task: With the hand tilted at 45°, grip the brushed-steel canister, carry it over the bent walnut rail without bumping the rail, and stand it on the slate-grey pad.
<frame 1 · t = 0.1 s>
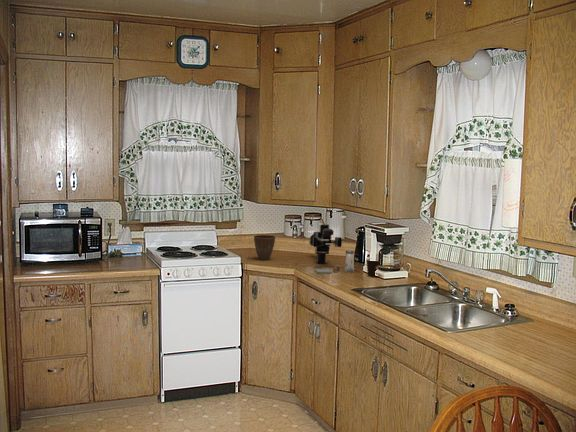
hand: (329, 244, 378), 17 cm above the counter, tool horizontal, fingers open, 9 cm apart
plant pot: (264, 259, 413), on the counter
slate pad: (323, 272, 372), on the counter
steel canister: (349, 271, 376), on the counter
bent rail: (336, 271, 376), on the counter
coffee mug: (375, 276, 364), on the counter
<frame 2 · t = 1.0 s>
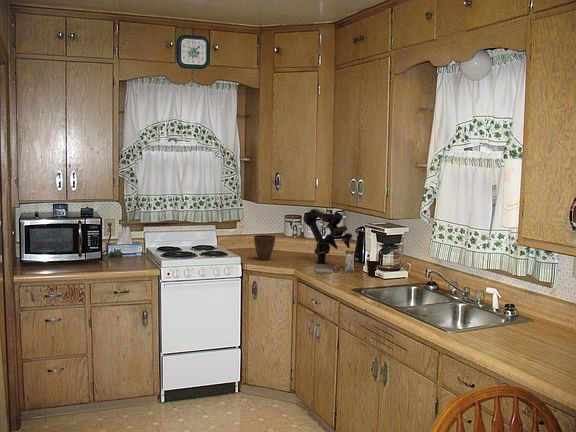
hand: (343, 248, 381), 14 cm above the counter, tool tilted 45°, fingers open, 9 cm apart
nothing on the counter moved.
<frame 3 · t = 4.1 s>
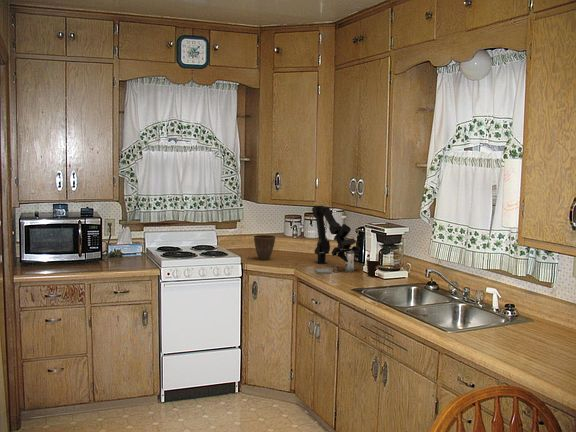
hand: (350, 261, 374), 7 cm above the counter, tool tilted 45°, fingers closed on steel canister, 5 cm apart
steel canister: (349, 271, 376), on the counter, touching gripper
everything else where it was.
when the fingers open (9 cm above the counter, at t = 9.0 s): steel canister drops 1 cm, resting on slate pad.
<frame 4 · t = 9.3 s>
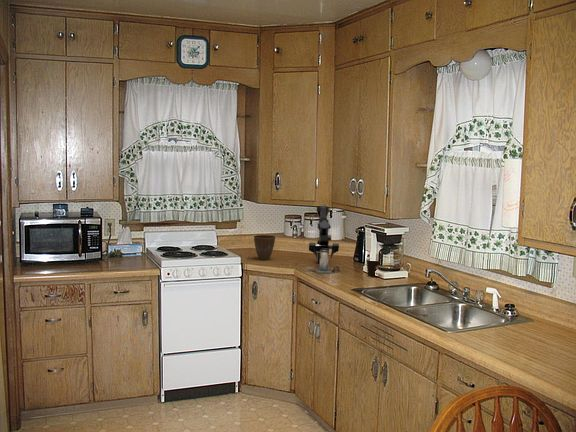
hand: (323, 258, 370), 9 cm above the counter, tool tilted 45°, fingers open, 9 cm apart
steel canister: (323, 270, 372), point 1 cm above the counter, touching slate pad
everything else where it was.
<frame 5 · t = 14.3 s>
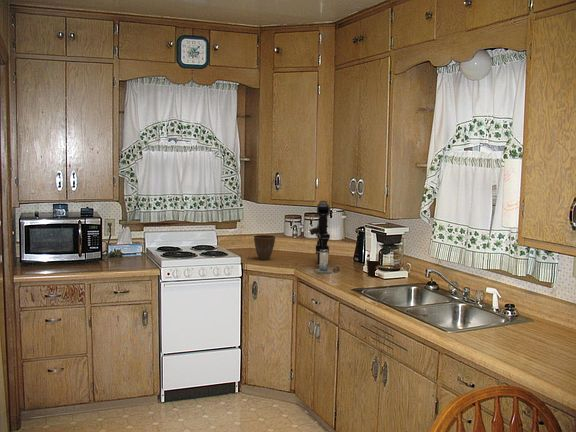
hand: (322, 247, 388), 13 cm above the counter, tool pointing down, fingers open, 9 cm apart
nothing on the counter moved.
at the end: steel canister 0.1 cm off-centre on the slate pad, point 1.0 cm above the slate pad's base; steel canister tilted 0°; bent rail moved 0.1 cm from its start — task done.
